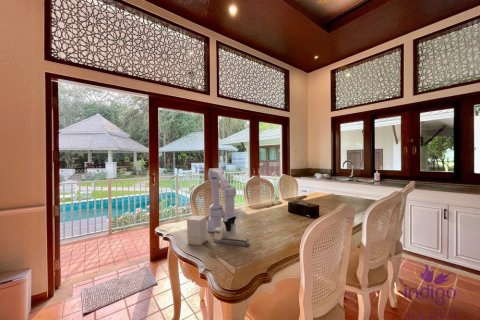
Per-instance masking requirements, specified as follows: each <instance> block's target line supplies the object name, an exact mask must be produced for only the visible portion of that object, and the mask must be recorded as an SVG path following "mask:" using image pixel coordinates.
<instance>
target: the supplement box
mask: <svg viewBox="0 0 480 320" xmlns="http://www.w3.org/2000/svg"><path fill="white" fill-rule="evenodd" d="M207 222H208V219H207V216H204V215H193V216H190V217H188V218H187V219H186V229H187V230H186V232H187V233H186V235H187V245H193V246H194V245H195V246H202V244H204V243H206V241H207V240H208V231H207V230H208V225H207Z"/></svg>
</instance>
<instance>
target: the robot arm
mask: <svg viewBox="0 0 480 320" xmlns="http://www.w3.org/2000/svg"><path fill="white" fill-rule="evenodd" d="M224 171H225V170H224V169H223V167H221V168H220V167H217V168H213V167H212V168H209V169H208V171H207V178H208V180H209V181H210V187H211V188H210V189H211V202H212V203H211V205H210V206H209V207H208V212H207V213H208V219H207V233H208V232H210V233H214V229H215V228H217V227H219V228H223V230H224V229H225V226H226V230H227V231H229V232H230V231H231V224H232V223H234V224H235V222H236V219H237V214H236V211H235V197H236V194H237V191H236V190H237V189H236V188H235V186H232V184H231V183H230V182H229V180H228V179H226V177H225V176H224V174H225V172H224ZM219 186H220V187H221V189H222V195H223V200H224V206H223V205H222V204H221V203H220V196H219V195H220V194H219V193H220V192H219ZM222 218H223V219H222ZM223 224H224V227H222V225H223Z"/></svg>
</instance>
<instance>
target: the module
mask: <svg viewBox="0 0 480 320" xmlns="http://www.w3.org/2000/svg"><path fill="white" fill-rule="evenodd" d="M224 229H225V230H224V231H225V232H224V233H225V236H232V237H233V236H235V235H236V233H237V232H236V229H237V228H236V223H235V222H234V223H232V224H231V231H230V232H229V231H227V230H226V226H225V225H224Z"/></svg>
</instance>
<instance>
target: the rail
mask: <svg viewBox="0 0 480 320" xmlns="http://www.w3.org/2000/svg"><path fill="white" fill-rule="evenodd" d="M249 241H250V239H249V238H246V239H238V238H231V237H230V238H227V237H223V238H222V239H221V240H217V239H214V238H213V243H216V244H224V245H225V244H226V245H231V246H232V245H233V246H238V247H239V246H240V247H246V248H247V247H248V246H249V244H250V242H249Z"/></svg>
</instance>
